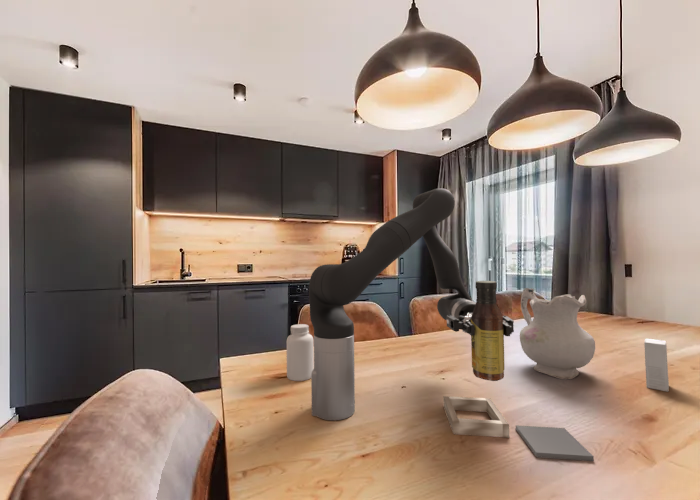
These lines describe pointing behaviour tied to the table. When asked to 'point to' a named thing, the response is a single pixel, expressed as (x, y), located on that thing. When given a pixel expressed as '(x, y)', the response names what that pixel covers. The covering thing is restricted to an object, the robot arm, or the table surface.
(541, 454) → the coaster
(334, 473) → the table surface
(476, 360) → the sauce bottle
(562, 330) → the ceramic pitcher
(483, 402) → the pocket frame
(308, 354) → the pill bottle
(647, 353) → the skincare box
